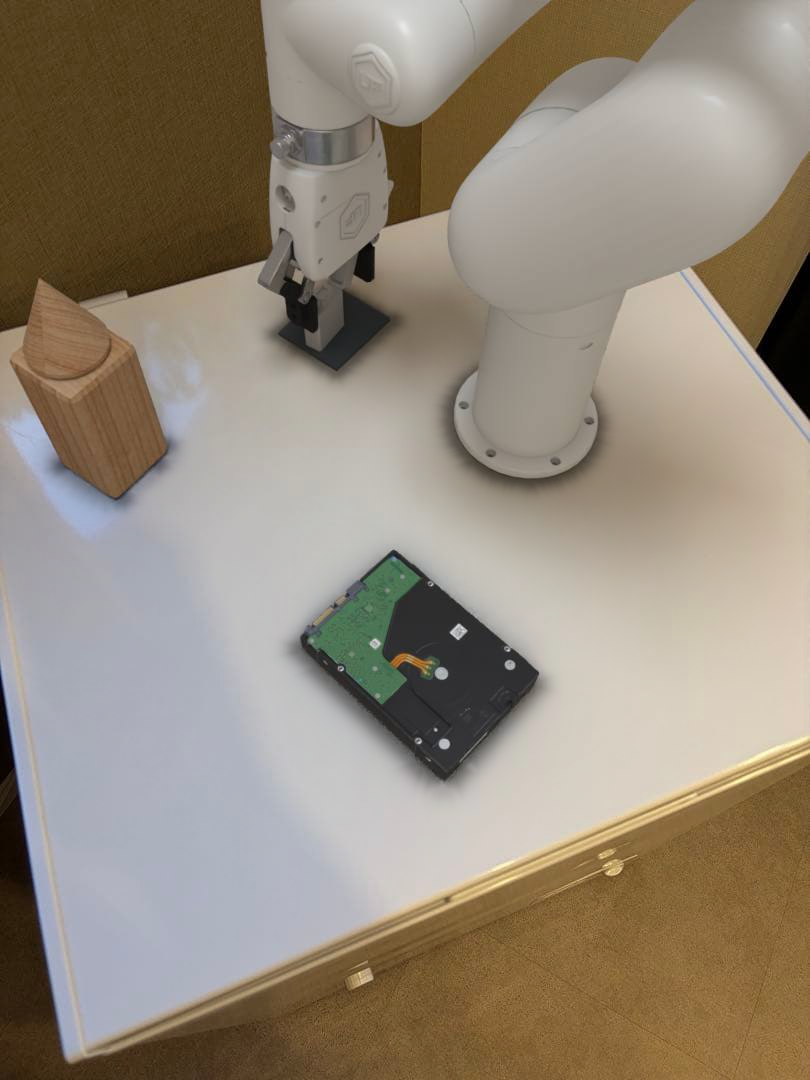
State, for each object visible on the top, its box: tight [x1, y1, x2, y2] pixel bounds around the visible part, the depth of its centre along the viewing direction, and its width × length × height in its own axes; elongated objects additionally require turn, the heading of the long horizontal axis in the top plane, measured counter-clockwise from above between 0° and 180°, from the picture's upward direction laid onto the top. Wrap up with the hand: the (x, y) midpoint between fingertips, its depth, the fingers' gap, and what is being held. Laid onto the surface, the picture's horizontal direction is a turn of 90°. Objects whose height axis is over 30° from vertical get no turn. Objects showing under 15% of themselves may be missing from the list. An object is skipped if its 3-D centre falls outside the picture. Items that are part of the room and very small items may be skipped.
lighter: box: [304, 251, 359, 351], centre depth 80 cm, size 7×2×8 cm, turn 149°
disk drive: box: [299, 549, 540, 781], centre depth 65 cm, size 10×3×15 cm
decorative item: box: [9, 277, 168, 498], centre depth 66 cm, size 7×7×20 cm
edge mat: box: [277, 288, 391, 372], centre depth 83 cm, size 8×7×1 cm
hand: (331, 297), depth 80 cm, fingers closed on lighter, 7 cm apart
